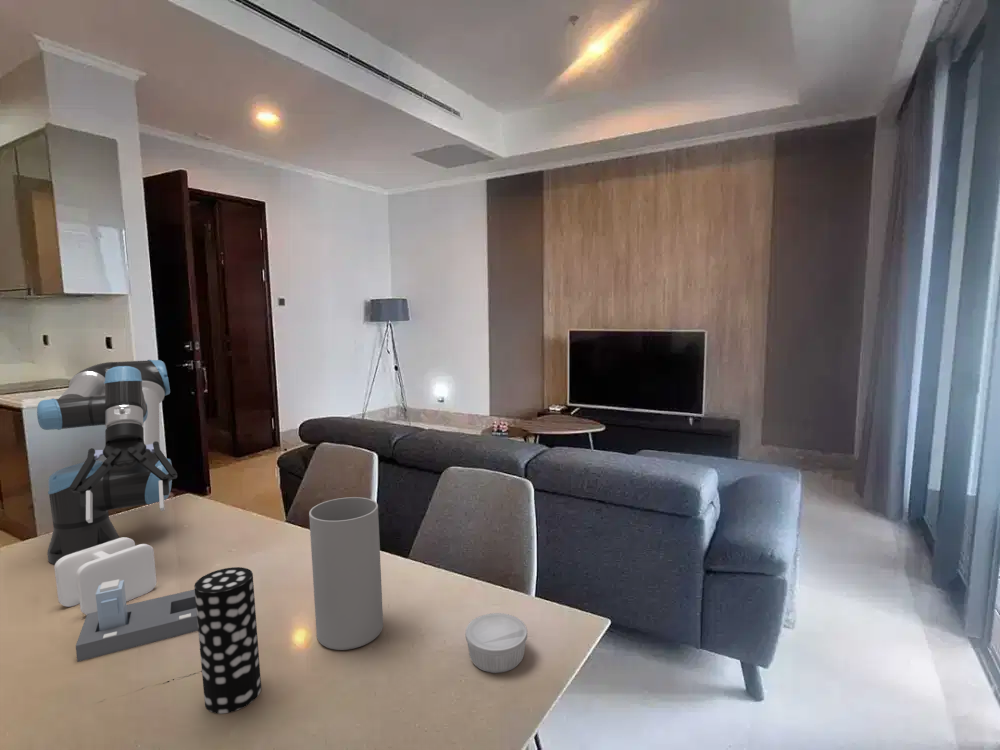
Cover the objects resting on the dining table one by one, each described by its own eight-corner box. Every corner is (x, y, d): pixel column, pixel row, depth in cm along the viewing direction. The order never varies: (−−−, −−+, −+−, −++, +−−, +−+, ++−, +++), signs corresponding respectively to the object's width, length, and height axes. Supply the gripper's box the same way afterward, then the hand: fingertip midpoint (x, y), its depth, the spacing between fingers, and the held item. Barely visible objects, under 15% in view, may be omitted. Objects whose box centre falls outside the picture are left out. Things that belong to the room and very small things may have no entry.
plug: (104, 633, 107) (98, 582, 105) (128, 627, 109) (123, 577, 107) (100, 646, 102) (94, 593, 101) (126, 640, 104) (120, 587, 103)
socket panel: (89, 630, 109) (87, 613, 108) (213, 600, 119) (212, 584, 119) (77, 664, 98) (75, 645, 98) (215, 628, 109) (214, 610, 108)
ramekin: (507, 686, 91) (506, 657, 90) (453, 664, 97) (452, 636, 96) (539, 650, 100) (538, 623, 100) (487, 632, 106) (487, 606, 106)
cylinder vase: (395, 620, 111) (390, 500, 108) (360, 657, 99) (353, 524, 96) (342, 610, 115) (336, 494, 112) (302, 644, 103) (294, 517, 100)
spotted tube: (218, 679, 94) (208, 568, 91) (268, 676, 94) (260, 565, 92) (195, 715, 85) (184, 594, 83) (250, 711, 86) (241, 591, 84)
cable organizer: (80, 624, 111) (73, 569, 110) (58, 609, 117) (51, 557, 115) (158, 591, 124) (153, 542, 122) (135, 579, 129) (130, 532, 128)
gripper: (54, 427, 122) (51, 522, 114) (183, 415, 134) (189, 500, 126) (62, 440, 128) (60, 530, 120) (185, 427, 140) (191, 508, 132)
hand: (126, 515), depth 123 cm, fingers open, 13 cm apart
